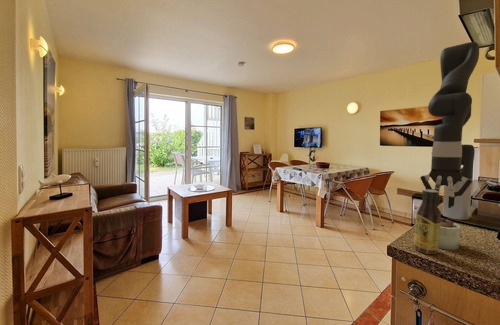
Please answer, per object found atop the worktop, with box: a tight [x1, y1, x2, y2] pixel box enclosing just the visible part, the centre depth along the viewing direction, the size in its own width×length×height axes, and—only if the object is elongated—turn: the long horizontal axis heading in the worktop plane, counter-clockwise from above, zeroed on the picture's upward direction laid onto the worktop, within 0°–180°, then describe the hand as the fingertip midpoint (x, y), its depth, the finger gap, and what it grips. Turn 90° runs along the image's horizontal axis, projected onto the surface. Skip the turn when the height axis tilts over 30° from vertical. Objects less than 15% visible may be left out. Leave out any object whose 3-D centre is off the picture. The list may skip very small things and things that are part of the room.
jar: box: [438, 222, 461, 251], centre depth 78 cm, size 9×9×7 cm
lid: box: [440, 217, 454, 228], centre depth 78 cm, size 6×6×4 cm
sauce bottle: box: [413, 188, 442, 255], centre depth 73 cm, size 7×6×20 cm
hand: (443, 206), depth 78 cm, fingers open, 2 cm apart
